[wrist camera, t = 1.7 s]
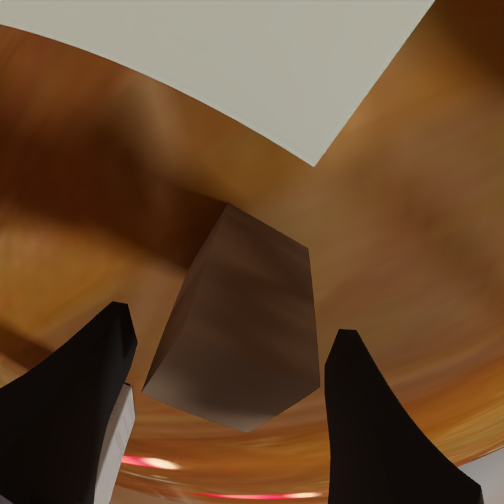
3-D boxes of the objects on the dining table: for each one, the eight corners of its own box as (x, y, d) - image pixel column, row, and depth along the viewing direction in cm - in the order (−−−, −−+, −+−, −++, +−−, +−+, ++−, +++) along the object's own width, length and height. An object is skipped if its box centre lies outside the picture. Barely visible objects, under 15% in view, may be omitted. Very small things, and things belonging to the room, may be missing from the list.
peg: (308, 248, 14) (320, 386, 8) (260, 304, 16) (247, 432, 10) (228, 202, 13) (183, 330, 7) (189, 268, 15) (141, 392, 9)
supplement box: (55, 353, 21) (-5, 477, 11) (134, 385, 22) (88, 527, 11) (70, 393, 25) (28, 494, 15) (136, 419, 26) (103, 530, 15)
